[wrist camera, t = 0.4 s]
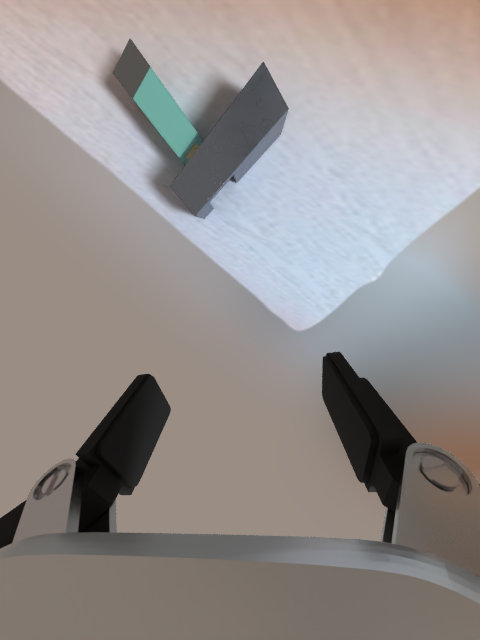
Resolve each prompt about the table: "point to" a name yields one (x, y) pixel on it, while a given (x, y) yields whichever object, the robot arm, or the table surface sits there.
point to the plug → (156, 102)
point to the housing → (233, 143)
